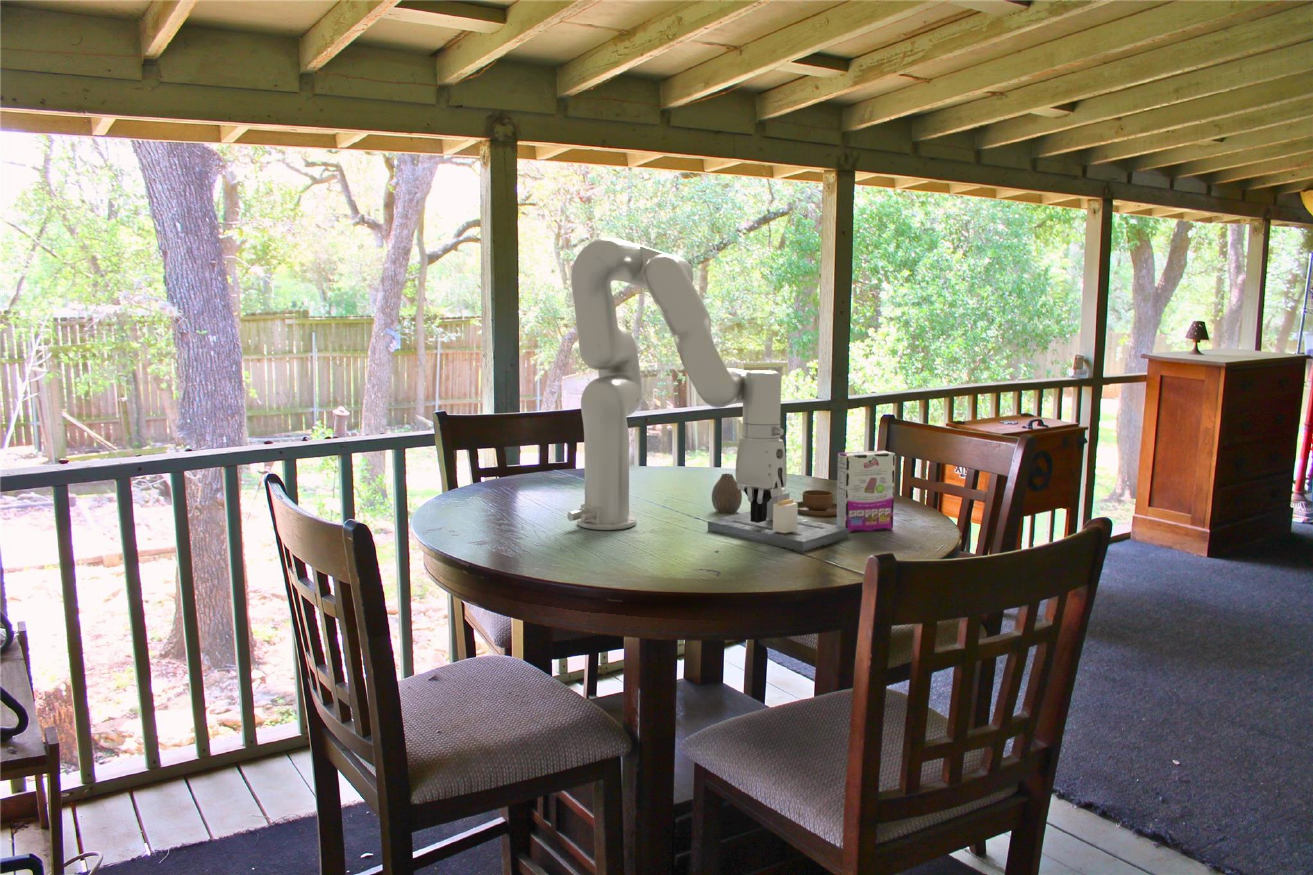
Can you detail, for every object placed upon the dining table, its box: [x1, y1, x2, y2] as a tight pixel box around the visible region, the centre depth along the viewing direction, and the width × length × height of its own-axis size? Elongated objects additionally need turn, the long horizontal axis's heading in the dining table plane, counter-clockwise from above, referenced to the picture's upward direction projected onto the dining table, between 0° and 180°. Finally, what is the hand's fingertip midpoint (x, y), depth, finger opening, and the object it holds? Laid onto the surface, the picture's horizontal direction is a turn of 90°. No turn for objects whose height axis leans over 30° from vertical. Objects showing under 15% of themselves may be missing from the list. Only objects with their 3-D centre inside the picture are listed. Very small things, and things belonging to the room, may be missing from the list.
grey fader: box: [766, 487, 791, 520], centre depth 191 cm, size 4×3×6 cm
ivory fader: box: [773, 498, 799, 533], centre depth 180 cm, size 4×3×6 cm
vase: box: [711, 473, 743, 515], centre depth 207 cm, size 7×7×9 cm
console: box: [707, 510, 850, 553], centre depth 187 cm, size 16×24×2 cm, turn 46°
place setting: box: [795, 489, 837, 517], centre depth 213 cm, size 18×20×6 cm
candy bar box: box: [836, 450, 896, 533], centre depth 191 cm, size 11×5×16 cm, turn 105°
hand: (758, 521), depth 185 cm, fingers closed
